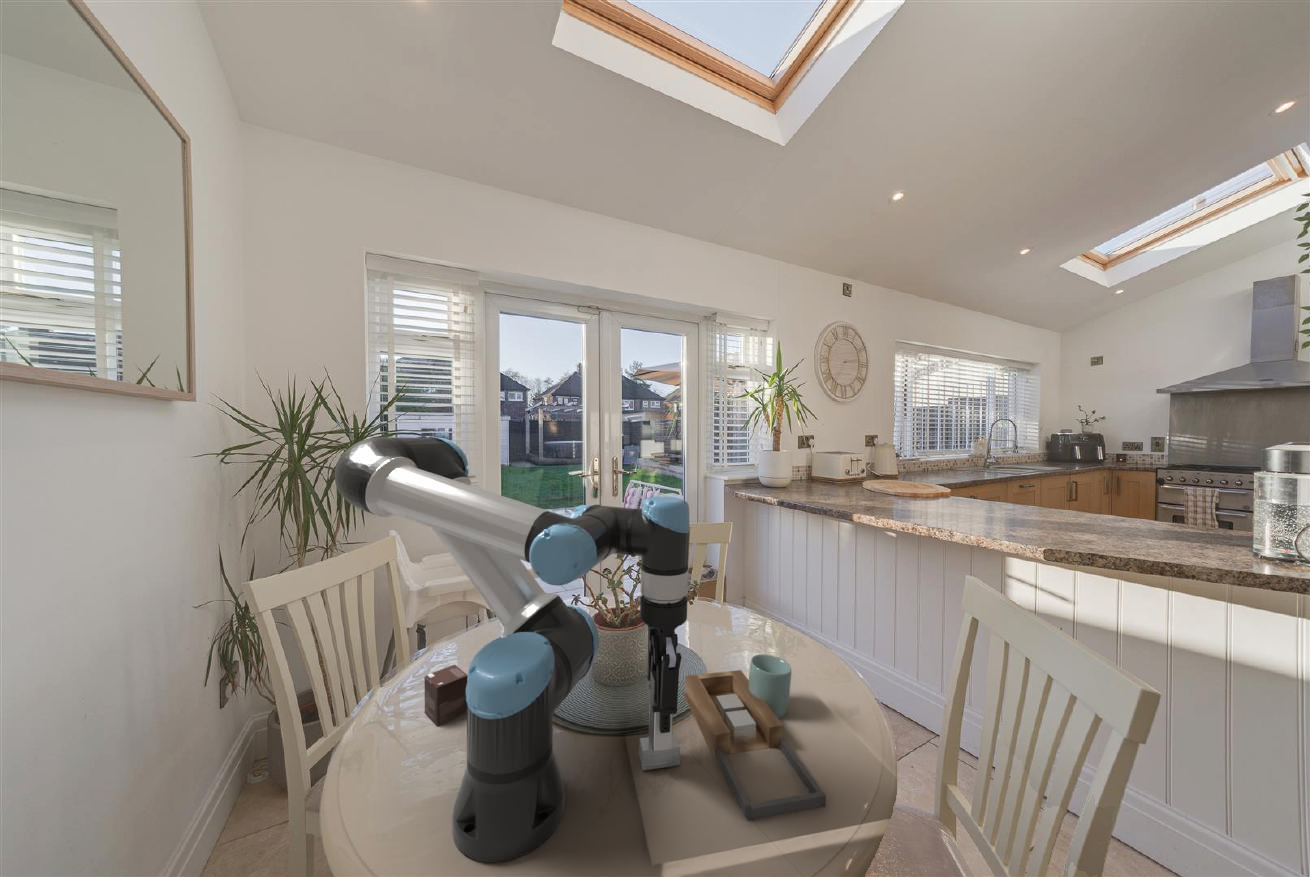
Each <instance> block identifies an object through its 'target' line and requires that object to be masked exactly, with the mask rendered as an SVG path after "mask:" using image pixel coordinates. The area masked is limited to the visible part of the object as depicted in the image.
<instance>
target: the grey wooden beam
mask: <svg viewBox="0 0 1310 877" xmlns="http://www.w3.org/2000/svg"><path fill="white" fill-rule="evenodd" d="M649 684H650V689H649V691H650V692H649V709H650V715H648V716H649V718H648V737H640V738H639V751H638V752H639V753H638V757H639V761H640V766H641V770H642V771H648V770H649V771H650V770H654V769H655V770H656V769H664V768H669V767H670V768H671V767H678V766H679V767H680V766H681V765H680V764H681V745H680V742H679V740H678V737H677V734H676V733H675V734H673V733H672V745H671V749H668V750H660V751H654V714H655V712H654V713H653V711H652V706H657V670H651V681H649Z"/></svg>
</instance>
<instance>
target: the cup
mask: <svg viewBox="0 0 1310 877" xmlns="http://www.w3.org/2000/svg"><path fill="white" fill-rule="evenodd" d="M748 672H749V675H748V680H749V684H748V688H749V691H750V692H751V694H752V695H754V696H755V697H757V698H759V699H762V700H764V701H765V702H766V704H767V705H768V706H769V708H770V709H771V710H772V712H773V713H774V714H775V716H776V717H777V718H778V719H781V718H782V717H784V716H785V714H786V712H787V710H788V706H789V700H790V694H791V693H790V691H791V683H792V666H791V665H790V663H789V662H788V661H786V660H785V659H782V658H781V657H779V656H775V655H771V654H755V655H754V656H752V658H751V659H750V663H749V671H748Z"/></svg>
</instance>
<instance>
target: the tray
mask: <svg viewBox="0 0 1310 877" xmlns="http://www.w3.org/2000/svg"><path fill="white" fill-rule="evenodd" d="M779 750H780V751H781V753H782V754H783V756H784V757H785V758H786V760H787V761H788V763H789V764H790V766H791V767H792V768H793V770H794V772H795V773H796V775H797V776H798V777H799V778H800V780H801V782H802V783H803V784H804V786H805V787H806V789H807V790H808V791H809V792H808V793H805V794H800V795H795V796H794V795H793V796H788V797H783V798H782V797H781V798H776V799H771V800H766V801H760V802H755V803H750V801H749V799H748V797H747V795H746V793H745V791H744V789H743V787H742V785H741V783H740V781H739V780H738V778H737V776H736V774H735V771H734V769H733V768H732V766H731V764H730V762H729V760H728V758H727V756H726V755H725V754H724V752H723V750H722V748H719V749H717V756H716V759H717V761H718V763H719V766H720V767H721V770H722V772H723V774H724V776H725V778H726V780H727V782H728V784H729V786H730V788H731V790H732V793H733V795H734V796H735V799H736V801H737V802H738V805H739V807H740V809H741V811H742V813H743V816H744V817H745V820H746V821H747V822H748V821H754V820H755V821H756V820H759V819H765V818H769V817H775V816H776V817H777V816H780V815H787V814H791V813H792V814H793V813H798V812H803V811H809V810H814V809H820V808H824V807H826V806H827V805H826V801H827V798H826V797H827V796H826V794H825V793H824V791H823V790H822V789H821V787H820V785H818V783H817V781H816V780H815V779H814V777H813V776H812V775H811V773H810V772H809V770H808V769H807V768H806V767H805V765H804V764H803V763H802V761H801V760H800V759H799V757H798V756H797V754H796V753H795V752H794V750H793V749H792V747H791V746H790V744H788V741H786V739H785V738H783V739H781V740H780V747H779Z"/></svg>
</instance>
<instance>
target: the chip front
mask: <svg viewBox="0 0 1310 877" xmlns="http://www.w3.org/2000/svg"><path fill="white" fill-rule="evenodd" d="M726 726H727V728H728V729H729V731H730V738H731V740H732V741H733V743H734V744H738V743H745V742H752V741H756V723H755V721H754V720H753V718H752V717H751V716H750V714H749V713H748V711H747V710H740V711H732V712H726Z"/></svg>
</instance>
